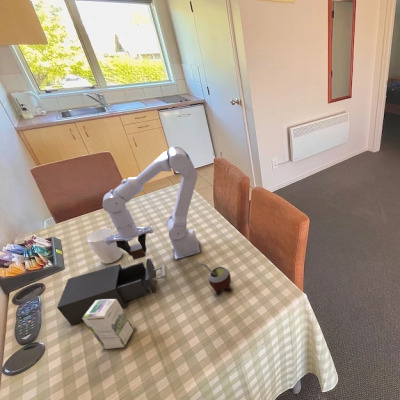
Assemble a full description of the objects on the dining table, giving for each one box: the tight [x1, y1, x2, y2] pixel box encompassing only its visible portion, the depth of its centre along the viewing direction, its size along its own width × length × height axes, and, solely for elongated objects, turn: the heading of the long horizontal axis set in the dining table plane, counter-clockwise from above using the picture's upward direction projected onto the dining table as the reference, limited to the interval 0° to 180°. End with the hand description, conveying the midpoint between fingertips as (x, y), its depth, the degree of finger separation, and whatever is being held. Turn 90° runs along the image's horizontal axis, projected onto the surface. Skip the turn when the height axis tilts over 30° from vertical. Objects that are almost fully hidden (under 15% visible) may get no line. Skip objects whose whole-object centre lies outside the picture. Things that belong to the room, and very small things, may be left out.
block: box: [130, 242, 147, 261], centre depth 101 cm, size 4×4×4 cm
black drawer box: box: [56, 263, 127, 326], centre depth 88 cm, size 15×13×9 cm
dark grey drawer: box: [117, 258, 168, 302], centre depth 93 cm, size 18×11×7 cm, turn 117°
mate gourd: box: [194, 262, 232, 296], centre depth 90 cm, size 8×8×15 cm
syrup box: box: [82, 299, 135, 350], centre depth 75 cm, size 6×6×14 cm
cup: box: [85, 227, 123, 264], centre depth 106 cm, size 9×9×12 cm
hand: (138, 252), depth 102 cm, fingers closed on block, 4 cm apart
